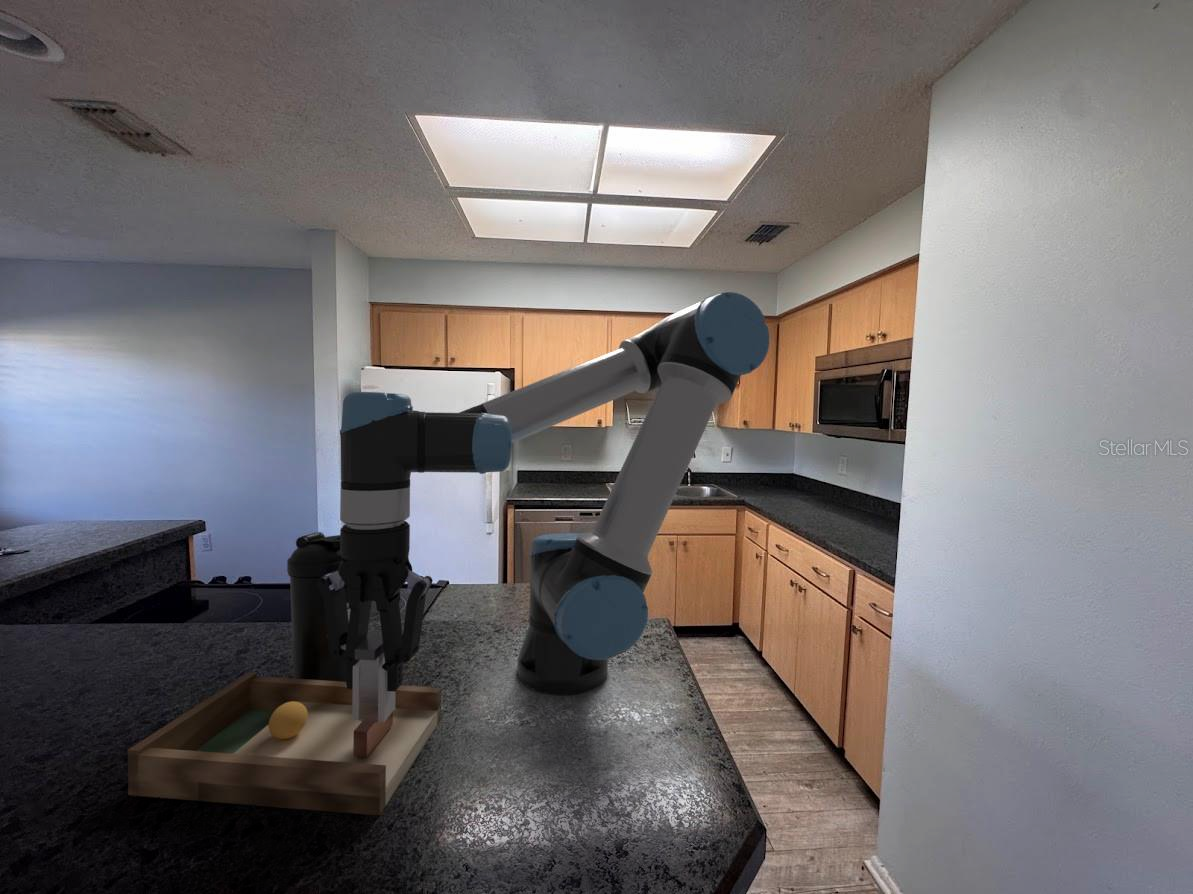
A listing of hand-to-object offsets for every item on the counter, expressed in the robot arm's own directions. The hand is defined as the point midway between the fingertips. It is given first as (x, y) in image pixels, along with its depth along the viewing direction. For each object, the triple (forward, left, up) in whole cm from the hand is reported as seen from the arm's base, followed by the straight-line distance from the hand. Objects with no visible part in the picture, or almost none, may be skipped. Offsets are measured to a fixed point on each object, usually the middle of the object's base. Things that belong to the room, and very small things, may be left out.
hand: (374, 713), depth 56 cm
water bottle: (+17, -16, -6) cm, 24 cm away
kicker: (0, 0, -3) cm, 3 cm away
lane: (+9, 0, -6) cm, 10 cm away
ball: (+11, 0, -2) cm, 11 cm away
